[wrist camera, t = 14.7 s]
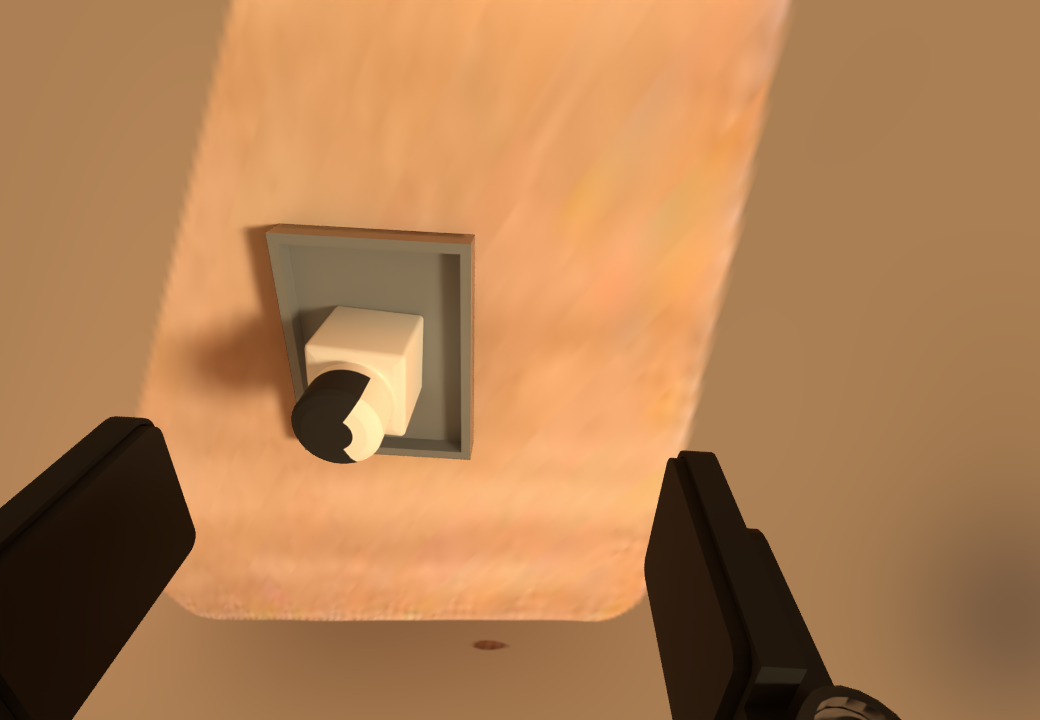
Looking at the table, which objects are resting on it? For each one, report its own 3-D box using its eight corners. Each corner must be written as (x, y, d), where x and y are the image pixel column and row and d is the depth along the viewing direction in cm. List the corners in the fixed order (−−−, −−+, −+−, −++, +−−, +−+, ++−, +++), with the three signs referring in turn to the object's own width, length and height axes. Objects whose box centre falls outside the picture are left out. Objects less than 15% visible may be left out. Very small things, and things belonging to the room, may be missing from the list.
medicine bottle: (340, 378, 48) (283, 470, 37) (336, 303, 44) (272, 382, 34) (422, 388, 48) (388, 482, 37) (424, 314, 44) (387, 394, 34)
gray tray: (279, 223, 42) (265, 232, 40) (474, 235, 42) (471, 244, 40) (314, 433, 52) (305, 449, 50) (473, 443, 52) (470, 459, 50)
